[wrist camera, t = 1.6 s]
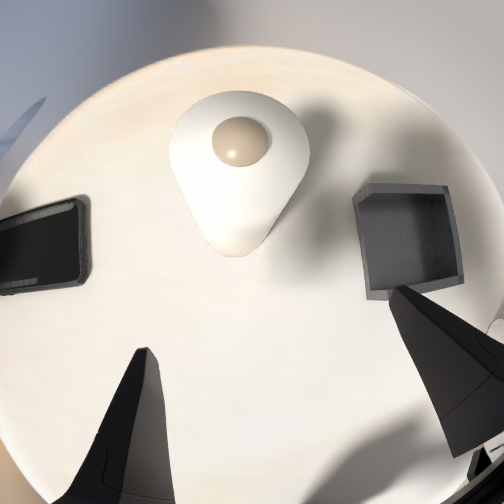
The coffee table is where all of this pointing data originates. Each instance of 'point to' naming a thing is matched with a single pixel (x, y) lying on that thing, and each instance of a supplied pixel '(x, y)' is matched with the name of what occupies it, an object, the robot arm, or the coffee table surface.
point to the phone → (44, 248)
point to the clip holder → (407, 238)
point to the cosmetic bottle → (497, 330)
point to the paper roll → (238, 166)
